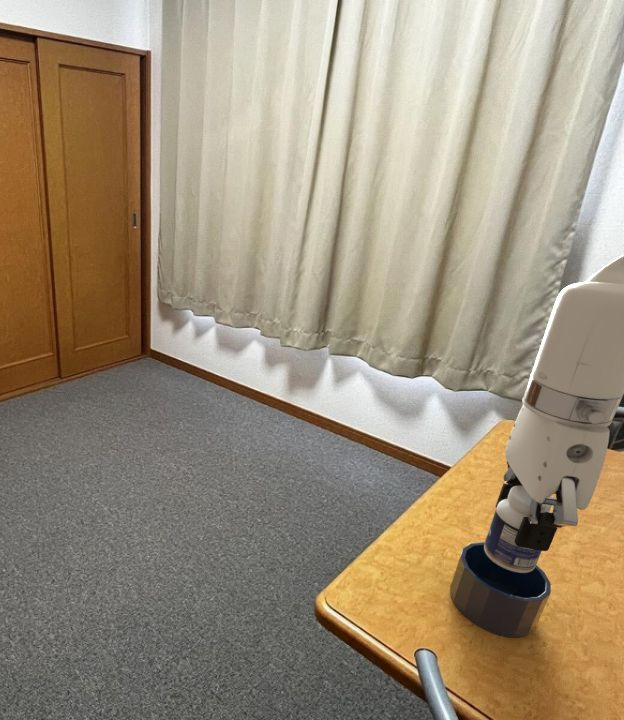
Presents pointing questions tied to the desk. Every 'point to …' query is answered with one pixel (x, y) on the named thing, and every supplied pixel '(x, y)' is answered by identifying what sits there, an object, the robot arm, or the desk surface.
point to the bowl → (498, 594)
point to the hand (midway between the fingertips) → (520, 527)
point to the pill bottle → (511, 533)
